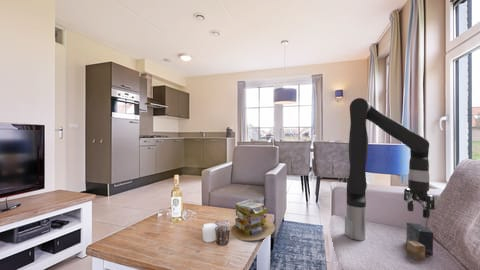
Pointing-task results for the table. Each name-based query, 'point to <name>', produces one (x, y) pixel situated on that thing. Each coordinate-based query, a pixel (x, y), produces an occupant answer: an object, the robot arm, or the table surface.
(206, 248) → the table surface
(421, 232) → the small box
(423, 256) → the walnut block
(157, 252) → the table surface
